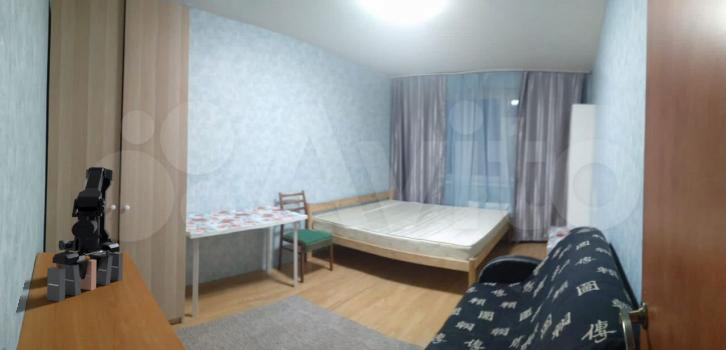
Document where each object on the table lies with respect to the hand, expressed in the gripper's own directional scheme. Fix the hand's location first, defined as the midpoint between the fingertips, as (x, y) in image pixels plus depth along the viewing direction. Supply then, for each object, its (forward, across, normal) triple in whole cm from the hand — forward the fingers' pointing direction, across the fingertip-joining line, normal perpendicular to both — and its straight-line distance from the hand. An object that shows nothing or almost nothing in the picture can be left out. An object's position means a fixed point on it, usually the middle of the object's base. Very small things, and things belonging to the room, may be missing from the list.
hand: (88, 277), depth 120 cm
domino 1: (+4, +10, 0) cm, 11 cm away
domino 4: (+4, -5, 0) cm, 6 cm away
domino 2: (+4, +5, 0) cm, 6 cm away
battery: (+4, -4, -16) cm, 16 cm away
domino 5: (+4, -10, 0) cm, 11 cm away
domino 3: (+4, 0, 0) cm, 4 cm away
